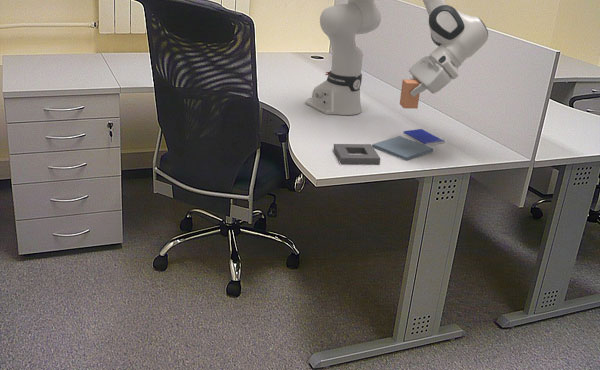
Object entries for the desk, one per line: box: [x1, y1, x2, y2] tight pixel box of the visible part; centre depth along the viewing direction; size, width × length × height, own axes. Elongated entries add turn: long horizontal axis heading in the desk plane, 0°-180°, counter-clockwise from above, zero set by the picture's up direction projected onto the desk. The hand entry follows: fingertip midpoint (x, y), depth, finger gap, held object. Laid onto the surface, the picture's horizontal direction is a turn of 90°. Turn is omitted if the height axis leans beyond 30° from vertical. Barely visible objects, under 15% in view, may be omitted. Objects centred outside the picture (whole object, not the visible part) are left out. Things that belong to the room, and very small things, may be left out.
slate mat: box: [371, 135, 434, 161], centre depth 210 cm, size 14×14×1 cm
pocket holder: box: [332, 143, 381, 165], centre depth 201 cm, size 12×12×2 cm
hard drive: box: [402, 128, 446, 146], centre depth 221 cm, size 2×8×12 cm
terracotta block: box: [399, 78, 421, 110], centre depth 203 cm, size 4×4×8 cm
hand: (408, 92), depth 202 cm, fingers closed on terracotta block, 4 cm apart
